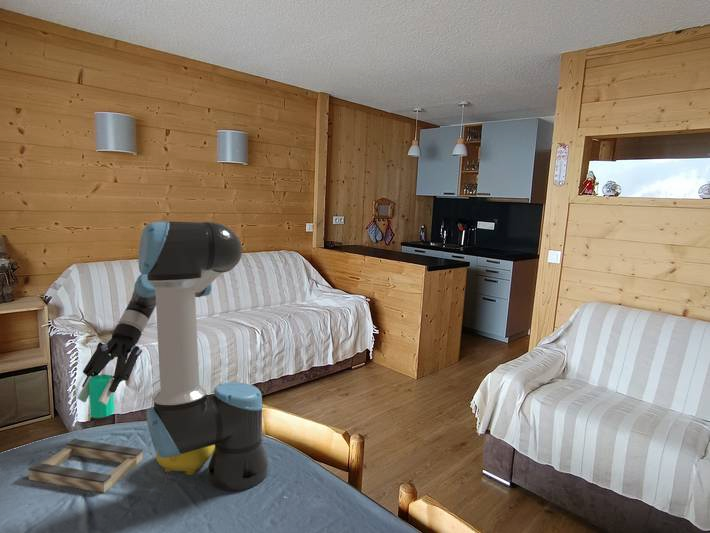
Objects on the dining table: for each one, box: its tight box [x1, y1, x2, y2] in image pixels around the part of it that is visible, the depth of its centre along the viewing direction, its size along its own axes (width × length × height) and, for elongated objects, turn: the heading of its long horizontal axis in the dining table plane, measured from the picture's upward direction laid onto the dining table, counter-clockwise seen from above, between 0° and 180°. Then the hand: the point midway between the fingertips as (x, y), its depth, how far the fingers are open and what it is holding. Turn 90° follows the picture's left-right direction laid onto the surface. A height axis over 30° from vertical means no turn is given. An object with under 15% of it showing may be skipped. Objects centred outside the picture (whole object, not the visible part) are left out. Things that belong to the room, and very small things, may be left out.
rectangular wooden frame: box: [27, 438, 144, 494], centre depth 113 cm, size 21×14×3 cm, turn 79°
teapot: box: [155, 445, 215, 476], centre depth 117 cm, size 13×20×12 cm
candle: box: [89, 372, 115, 419], centre depth 125 cm, size 6×6×12 cm
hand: (91, 401), depth 122 cm, fingers closed on candle, 6 cm apart
